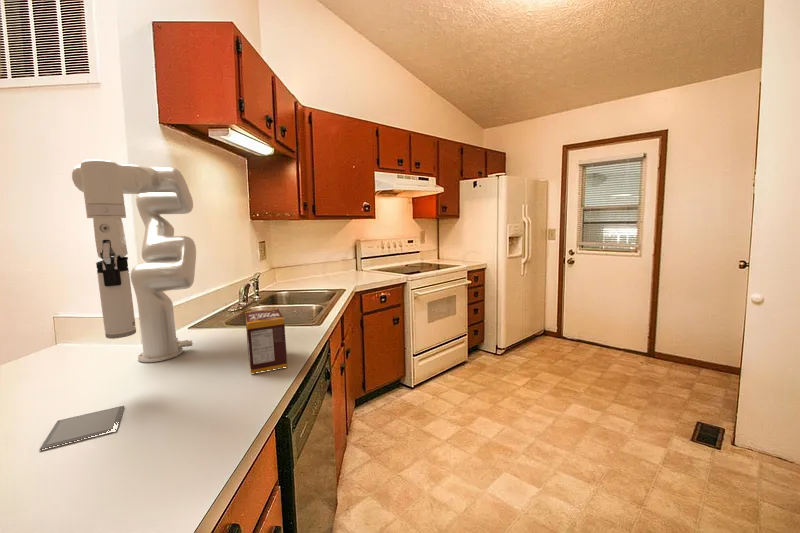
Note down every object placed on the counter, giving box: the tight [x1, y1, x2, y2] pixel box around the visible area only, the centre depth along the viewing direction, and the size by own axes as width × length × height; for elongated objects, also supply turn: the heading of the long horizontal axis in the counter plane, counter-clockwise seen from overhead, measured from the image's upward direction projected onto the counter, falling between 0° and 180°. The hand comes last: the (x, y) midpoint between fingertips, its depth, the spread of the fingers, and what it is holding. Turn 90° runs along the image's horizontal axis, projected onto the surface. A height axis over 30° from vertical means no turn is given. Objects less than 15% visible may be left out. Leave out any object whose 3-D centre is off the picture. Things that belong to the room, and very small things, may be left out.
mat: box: [39, 405, 125, 451], centre depth 78 cm, size 12×12×1 cm
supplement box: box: [244, 308, 288, 374], centre depth 111 cm, size 10×15×16 cm
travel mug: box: [95, 256, 137, 340], centre depth 91 cm, size 6×7×20 cm
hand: (115, 283), depth 90 cm, fingers closed on travel mug, 6 cm apart
